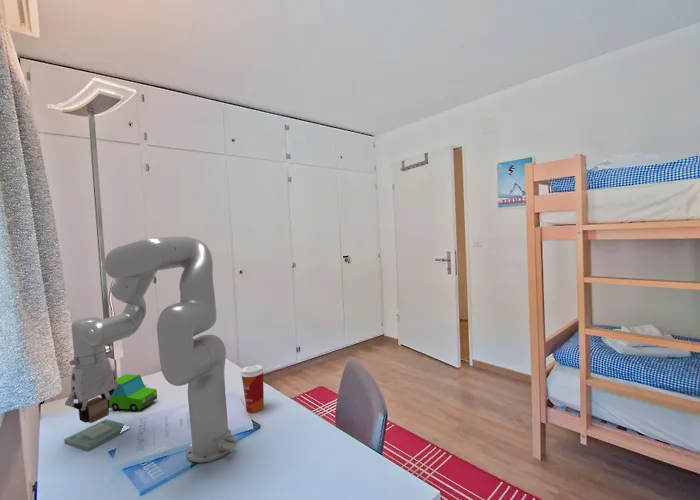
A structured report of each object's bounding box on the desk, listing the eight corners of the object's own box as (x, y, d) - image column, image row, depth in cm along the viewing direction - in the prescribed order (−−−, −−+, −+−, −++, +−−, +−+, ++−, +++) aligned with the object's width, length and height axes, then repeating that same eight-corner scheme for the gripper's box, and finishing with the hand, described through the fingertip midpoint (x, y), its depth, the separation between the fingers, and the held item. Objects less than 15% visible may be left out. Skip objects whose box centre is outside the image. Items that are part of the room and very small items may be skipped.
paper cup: (243, 406, 121) (240, 366, 120) (265, 401, 123) (262, 362, 122) (243, 417, 113) (240, 374, 113) (267, 411, 116) (264, 370, 115)
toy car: (139, 414, 120) (136, 385, 119) (107, 412, 122) (104, 385, 122) (160, 400, 130) (158, 373, 129) (130, 399, 132) (128, 373, 132)
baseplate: (129, 428, 110) (129, 423, 110) (88, 451, 99) (87, 445, 99) (106, 422, 115) (105, 417, 115) (64, 443, 104) (63, 437, 104)
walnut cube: (108, 415, 108) (107, 399, 108) (91, 423, 104) (89, 406, 104) (99, 412, 110) (97, 396, 110) (81, 420, 106) (80, 404, 106)
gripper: (64, 370, 97) (70, 434, 98) (125, 350, 112) (130, 405, 113) (50, 367, 100) (55, 429, 101) (111, 348, 116) (116, 402, 116)
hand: (95, 416), depth 107 cm, fingers closed on walnut cube, 5 cm apart
